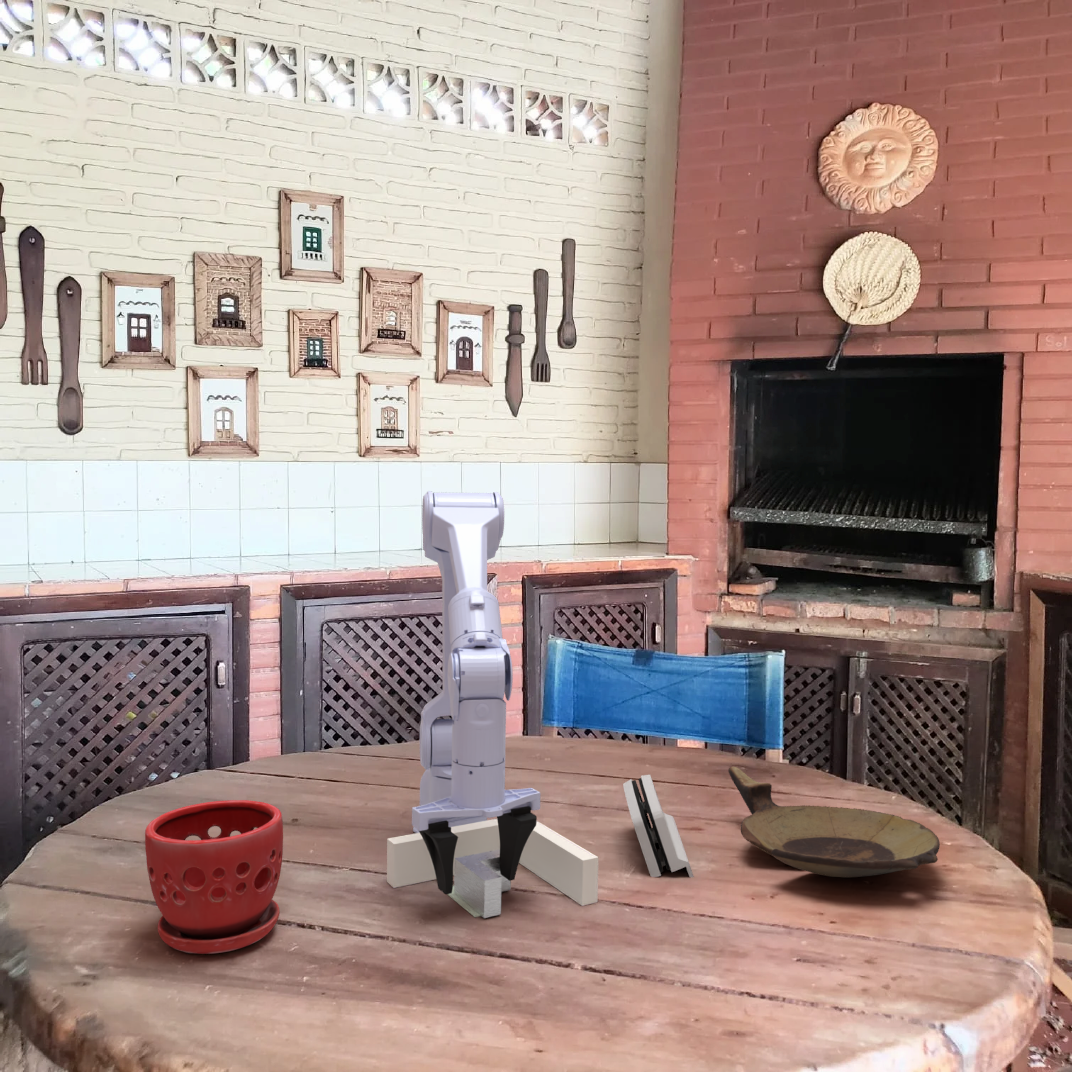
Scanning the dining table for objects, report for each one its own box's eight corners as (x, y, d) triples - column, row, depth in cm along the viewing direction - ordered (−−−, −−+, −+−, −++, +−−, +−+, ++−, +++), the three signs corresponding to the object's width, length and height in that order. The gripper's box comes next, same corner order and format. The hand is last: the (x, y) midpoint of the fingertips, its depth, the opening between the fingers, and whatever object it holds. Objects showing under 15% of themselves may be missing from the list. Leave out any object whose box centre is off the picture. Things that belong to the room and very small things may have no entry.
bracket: (533, 906, 109) (534, 870, 109) (484, 918, 106) (484, 880, 106) (501, 883, 115) (502, 848, 115) (454, 893, 112) (454, 858, 112)
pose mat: (441, 889, 114) (441, 888, 114) (496, 878, 117) (496, 876, 117) (474, 917, 107) (474, 915, 107) (532, 903, 110) (532, 902, 110)
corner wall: (386, 881, 116) (387, 838, 115) (524, 853, 125) (524, 813, 124) (448, 938, 102) (449, 889, 101) (597, 902, 111) (598, 857, 111)
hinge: (694, 878, 118) (667, 798, 118) (655, 891, 118) (628, 810, 118) (677, 828, 135) (653, 757, 134) (643, 839, 135) (619, 768, 134)
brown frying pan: (796, 918, 108) (798, 847, 108) (697, 822, 138) (699, 766, 137) (984, 904, 113) (987, 836, 112) (849, 814, 142) (851, 760, 141)
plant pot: (275, 899, 110) (275, 791, 110) (290, 954, 98) (290, 832, 97) (146, 916, 106) (145, 802, 105) (144, 975, 93) (144, 847, 93)
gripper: (432, 778, 101) (431, 911, 102) (556, 759, 109) (553, 883, 110) (404, 760, 108) (403, 886, 108) (523, 744, 115) (521, 861, 116)
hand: (476, 883), depth 109 cm, fingers open, 7 cm apart
